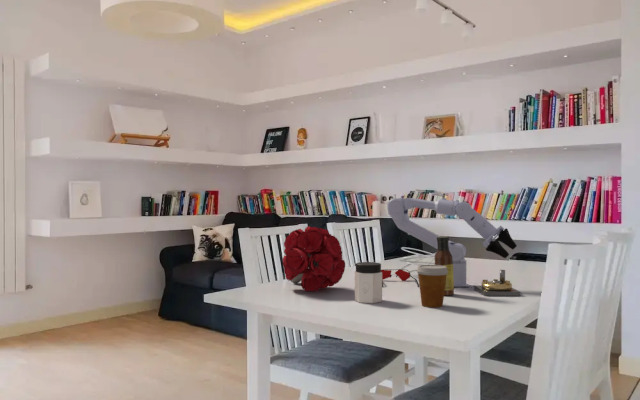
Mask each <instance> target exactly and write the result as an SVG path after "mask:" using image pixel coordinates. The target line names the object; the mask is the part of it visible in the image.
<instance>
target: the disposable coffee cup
mask: <svg viewBox="0 0 640 400" xmlns="http://www.w3.org/2000/svg"><path fill="white" fill-rule="evenodd" d="M415 271H416V273H417V277H418V284H419V292H420V293H419V294H420V300H421V306H423V307H426V308H441V307H443V304H444V297H445V295H444V291H445V283H446V275H447V272H448V271H447V267H446V266H441V265H435V264H420V265H418V266H417V269H416V270H415Z"/></svg>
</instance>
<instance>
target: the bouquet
mask: <svg viewBox="0 0 640 400" xmlns="http://www.w3.org/2000/svg"><path fill="white" fill-rule="evenodd" d="M341 246H342V245H341V243H340V241H339V239H338V238H337V237H336V236H335V235H332V234H331V233H330V232H329V230H328V229H327V228H326V229H324V228H322V227H315V226H309V225H308V226H306V227H305V228H304V230H303V229H301V228H298V229H295V230H292V231H291V232H290V233H289V234H288V235H287V236H286V237H285V240H284V242H283V247H284V250H283V253H284V255H283V257H282V267H283V272H284V275H285V279H286V280H287V281H288V282H291V283H293V284H298V283H300V282H301V283H300V287H301V288H302V289H303V290H304V291H306V292H315V291H319V290H321V289H325V288H327V287H329V288H330V287H333V286H335V285H336V284H338V283H339V282H340V281H341V279H342V278H343V275H344V273H345V268H346V262H345V260H344V259H343V250H342V247H341Z"/></svg>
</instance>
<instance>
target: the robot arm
mask: <svg viewBox="0 0 640 400" xmlns="http://www.w3.org/2000/svg"><path fill="white" fill-rule="evenodd" d="M414 208H417V209H426V210H434V212H435V213H436V214H439V215H443V216H450V217H455V216H456V217H457V218H460V219H463V220H464V221H465V222H466V223H467V225H468V226H469V227H470V228H471V229H473V230H474V231H475V232H476V233H478V235H480V236H481V238H482V239H483V240H484V241H483V242H482V243H481V245H482V246H483V247H484V248H485V250H486V251H487V252H491V253H493V254H495V255H497V256H500V257H502V258H503V259H507V257H508V256H510V253H509V252H508V251H507V250H506V249H505V248H504V247H503V246H502V244H504V245H505V246H506V247H508V248H510V249H511V250H515V248H516V247H517V244H516V242H515V241H514V239H513V238H512V236H511V234H510V232H509V230H508V228H504V227H503V226H502V225H500V226H498V227H495V226H494V225H493V224H492V223H491V222H490V221H488V220H487V219H486V218H485V217H484V216H483V215H482V214H481V213H479V212H477V210H476V209H474V208H473V206H471V204H470V203H468V202H466V201H461V202H460V200H458V199H456V200H450V199H447V197H442V198H439V199H437V200H436V201H432V200H426V199H420V198H414V197H406V198H405V197H398V198H397V197H395V198H391V199H390V200H388V202H387V213H388V215H389V216H390V217H391V219H392V220H393V222H394V224H395V226H396V227H397V229H399V230H401V231H403V232H404V233H406V234H409V235H410V236H412V237H414V238H415V239H417V240H419V241H421V242H424V243H425V244H427V245H429V246H431V247H432V248H435V249H437V247H438V245H437V237H438V236H439V235H438V234H436V233H434V232H433V231H431V230H429V229H427V228H425V227H423V226H421V225H419V224H417V223H415V222H413V221H411V220H410V218H409V210H412V209H414ZM501 243H502V244H501ZM448 245H449V251H450V253H451V255H452V260H453V276H454V288H455V287H459V288H460V287H462V288H466V287H468V288H469V287H470V286H471V285H469V284H468V283H467V260H466V259H465V257H466V255H467V252H468V251H467V248H466V246H465V245H464V244H463V243H461V242H454V241H451V240H449V241H448Z"/></svg>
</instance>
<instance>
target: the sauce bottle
mask: <svg viewBox="0 0 640 400" xmlns="http://www.w3.org/2000/svg"><path fill="white" fill-rule="evenodd" d="M448 241H450V237H449V236H447V235H446V236H440V235H438V237H437V245H438V247H437V250H436V252H435V254H434V265H441V266H446V267H447V271H448V272H447V275H446V283H445V291H444V297H445V296H446V297H447V296H452V295H454V294H455V287H454V276H453V260H452V255H451V253H450V251H449V245H448Z"/></svg>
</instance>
